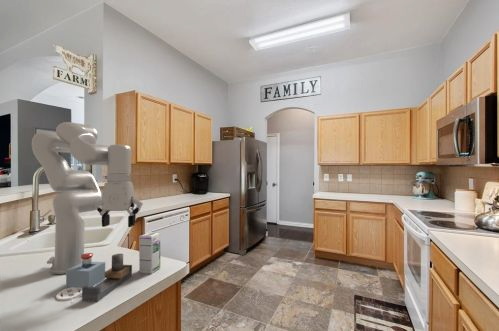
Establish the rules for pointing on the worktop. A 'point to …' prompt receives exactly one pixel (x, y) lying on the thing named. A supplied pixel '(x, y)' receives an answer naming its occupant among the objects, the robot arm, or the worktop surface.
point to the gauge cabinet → (85, 275)
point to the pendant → (66, 295)
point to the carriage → (117, 267)
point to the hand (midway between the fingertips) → (118, 226)
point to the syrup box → (149, 252)
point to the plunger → (86, 259)
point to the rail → (103, 287)
